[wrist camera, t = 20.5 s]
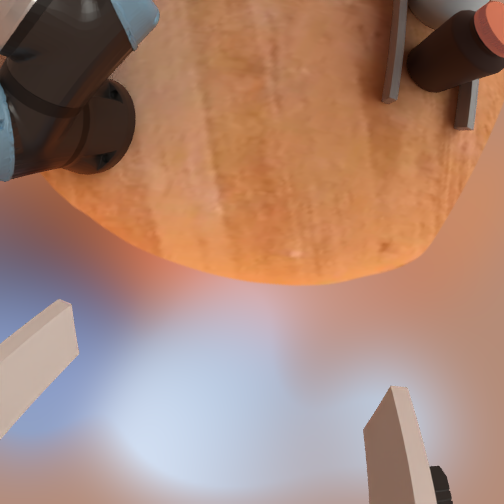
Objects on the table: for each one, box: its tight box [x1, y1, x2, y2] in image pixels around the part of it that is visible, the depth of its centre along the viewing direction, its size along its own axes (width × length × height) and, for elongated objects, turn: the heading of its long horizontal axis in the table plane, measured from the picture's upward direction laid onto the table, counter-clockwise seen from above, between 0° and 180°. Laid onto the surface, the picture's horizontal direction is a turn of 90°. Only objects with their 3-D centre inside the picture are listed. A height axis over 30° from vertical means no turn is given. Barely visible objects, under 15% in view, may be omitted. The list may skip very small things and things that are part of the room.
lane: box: [382, 0, 479, 130], centre depth 23 cm, size 12×28×10 cm, turn 170°
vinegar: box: [407, 1, 504, 92], centre depth 21 cm, size 7×7×20 cm
